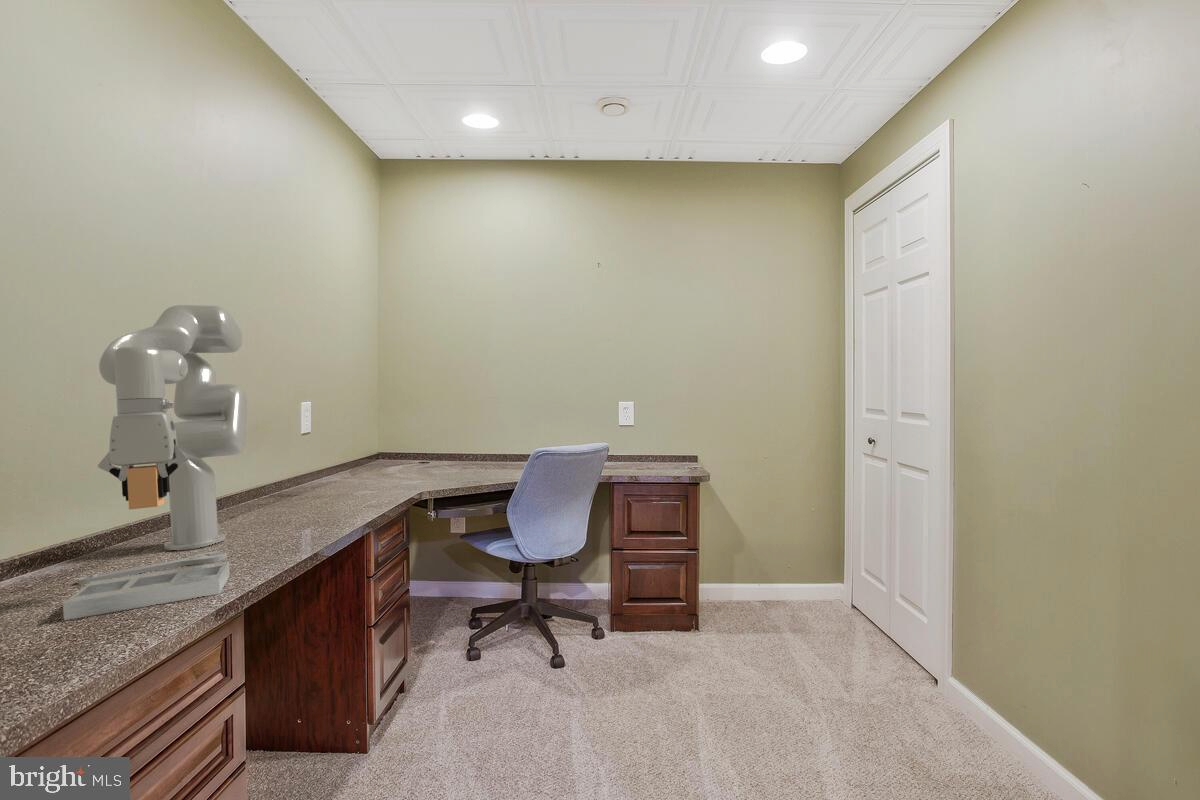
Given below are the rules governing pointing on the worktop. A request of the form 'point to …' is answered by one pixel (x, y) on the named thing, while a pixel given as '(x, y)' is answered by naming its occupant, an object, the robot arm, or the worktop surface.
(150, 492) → the rectangular block
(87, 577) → the grey slotted rack
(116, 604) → the grey compartment tray
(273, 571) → the worktop surface
